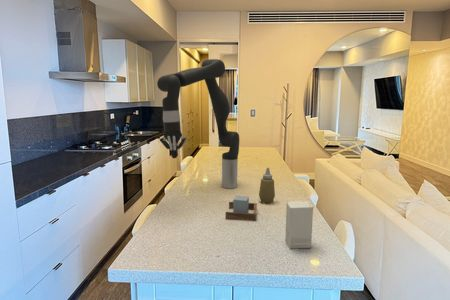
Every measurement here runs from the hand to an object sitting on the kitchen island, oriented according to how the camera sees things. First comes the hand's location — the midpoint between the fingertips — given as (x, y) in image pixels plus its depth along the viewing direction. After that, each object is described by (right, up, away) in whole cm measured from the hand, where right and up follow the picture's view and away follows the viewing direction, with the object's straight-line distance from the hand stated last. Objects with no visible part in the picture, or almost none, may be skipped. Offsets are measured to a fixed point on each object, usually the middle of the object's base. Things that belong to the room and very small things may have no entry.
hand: (174, 157), depth 139 cm
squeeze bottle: (+45, -23, +14) cm, 52 cm away
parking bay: (+30, -26, -2) cm, 40 cm away
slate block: (+31, -26, -3) cm, 40 cm away
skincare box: (+50, -31, -30) cm, 66 cm away
